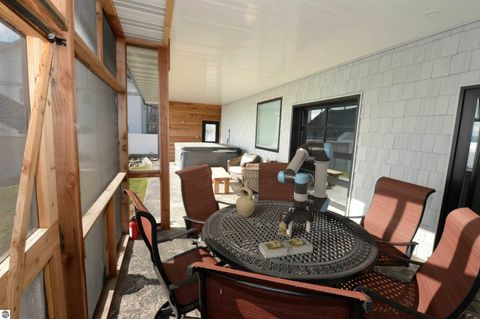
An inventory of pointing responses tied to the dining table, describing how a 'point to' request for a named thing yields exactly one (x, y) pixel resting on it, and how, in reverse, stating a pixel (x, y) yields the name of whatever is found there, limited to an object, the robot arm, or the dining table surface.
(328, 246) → the dining table surface
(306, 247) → the grey slotted tray
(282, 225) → the coffee box
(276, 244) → the drawer with knob
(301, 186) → the robot arm
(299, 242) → the gold knobbed block
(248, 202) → the vase
